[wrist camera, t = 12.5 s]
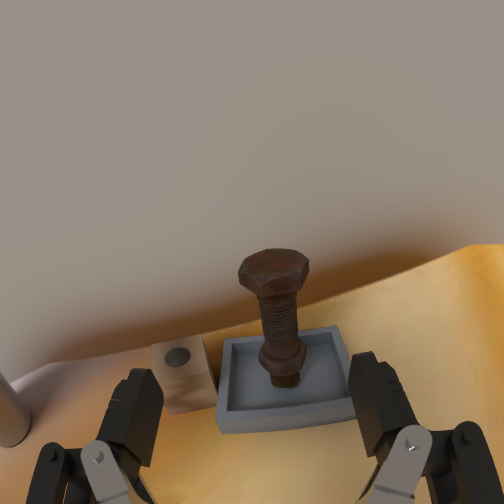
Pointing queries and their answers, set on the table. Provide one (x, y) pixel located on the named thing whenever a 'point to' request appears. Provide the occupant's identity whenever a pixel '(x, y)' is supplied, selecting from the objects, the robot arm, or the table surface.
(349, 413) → the tray
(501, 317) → the table surface
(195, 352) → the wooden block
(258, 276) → the bolt
